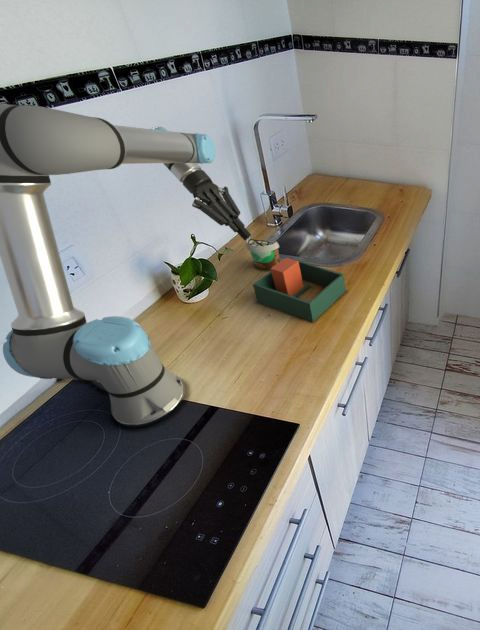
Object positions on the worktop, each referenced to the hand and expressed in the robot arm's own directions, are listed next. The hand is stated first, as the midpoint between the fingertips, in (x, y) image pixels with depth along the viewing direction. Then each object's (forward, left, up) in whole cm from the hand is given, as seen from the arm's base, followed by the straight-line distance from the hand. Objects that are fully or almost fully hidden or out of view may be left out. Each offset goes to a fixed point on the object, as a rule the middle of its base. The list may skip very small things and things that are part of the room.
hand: (247, 237), depth 126 cm
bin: (+17, -6, -17) cm, 25 cm away
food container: (-3, +9, -17) cm, 20 cm away
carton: (+13, -4, -17) cm, 22 cm away
